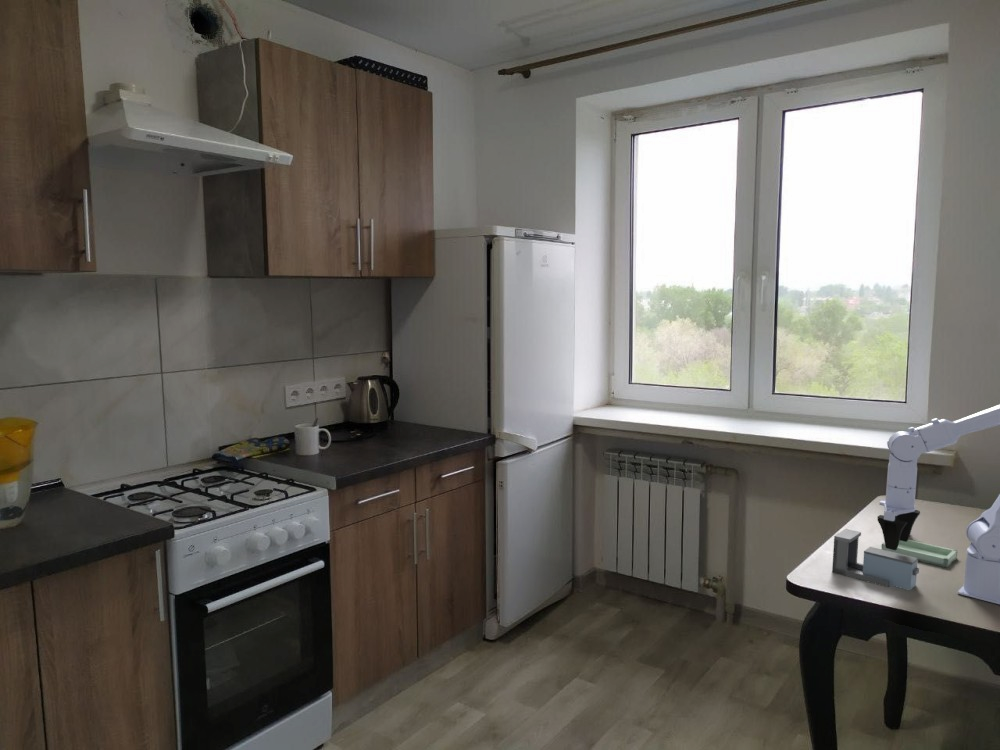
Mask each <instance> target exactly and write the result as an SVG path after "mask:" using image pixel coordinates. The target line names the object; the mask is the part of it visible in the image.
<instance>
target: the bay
mask: <svg viewBox="0 0 1000 750" xmlns="http://www.w3.org/2000/svg"><path fill="white" fill-rule="evenodd" d="M861 536H862V531H857V530H853V529H848V528H845V529H843V530H841V531H840V532H838V533H836V534H835V535H834V537H833V551H832V552H833V553H832V554H833V555H832V571H831V572H832V573H834V574H838V575H843V576H846V577H849V578H853V579H856V580H860V581H864V582H867V581H868V582H869V583H871V584H875V583H876V584H875V585H878V584H880V585H879V586H882V585H883V587H886V586H887V587H886V588H888V587H889V586H890V585H889V581H888V580H884V579H880V578H877V577H873V576H869V575H865V574H863V572H862V573H860V572H858V571H857V572H856V571H853V570H849V569H848V567H849V568H853V569H857V570H860V571H861V570H862V571H863V563H860V562H858V552H859V538H860V537H861Z"/></svg>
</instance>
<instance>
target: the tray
mask: <svg viewBox="0 0 1000 750" xmlns="http://www.w3.org/2000/svg"><path fill="white" fill-rule="evenodd" d="M881 549H882V550H886V551H890V552H895V553H899V554H903V555H907V556H911V557H916V558H918V562H921V563H926V564H930V565H935V566H938V567H943V568H946V569H947V568H949V567H950V566H951V565H952V564H953V563H954V561H956V560H957V559H958V557H957V556H958V550H957V549H952V548H948V547H943V546H939V545H935V544H930V543H926V542H922V541H916V540H912V539H908V541H907V542H905V541H899V545H898V548H897V550H892V549H887V548H886V546H885V542H883V543H882V544H881Z"/></svg>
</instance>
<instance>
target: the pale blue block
mask: <svg viewBox="0 0 1000 750" xmlns="http://www.w3.org/2000/svg"><path fill="white" fill-rule="evenodd" d="M862 562H863V563H862V564H863V570H862V574H865V575H869V576H873V577H877V578H880V579H884V580H888V581H889V584H890V585H889V586H891V585H893V586H892V587H895V586H897V587H896V588H898V587H901V588H900V589H902V588H905V589H904V590H906V589H908V590H907V591H910V590H911V589H912V588H913V587H914V586H915V585H917V578H918V577H917V575H918V574H919V572H920V567H918V562H919V561H918V558H916V557H911V556H907V555H903V554H899V553H895V552H890V551H886V550H882V548H878V547H873V546H869V547H868V548H866V549H865V550H864V551H863V561H862ZM915 587H916V586H915ZM915 587H914V588H915ZM914 588H913V589H914ZM913 589H912V590H913ZM912 590H911V591H912Z"/></svg>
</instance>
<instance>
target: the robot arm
mask: <svg viewBox="0 0 1000 750" xmlns="http://www.w3.org/2000/svg"><path fill="white" fill-rule="evenodd" d="M930 421H931V422H929V423H926V424H924V425H920V426H918V427H914V426H911V427H908V429H907V430H908V431H905V430H899V431H896V432H894V433H893V434H892V435H891V436H890V437H889V438H888V441H887V442H886V444H887V448H888V450H889V451H890V452H889V457H888V465H887V473H886V474H887V477H886V489H885V490H886V491H885V500H880V501H879V506H883V507H884V512H883V514H879V515H878V516H877V519H876V520H877V522H878V524H879V525H880V529H881V531H882V535H883V541H884V542H885V546H886V548H887V549H892V550H897V548H898V545H899V541H905V542H907V541H908V540H910V536H911V532H912V529H913V527H914V524H915V522H916V521H917V519H918V517H919V516H920V515H921V511H920V510H917V509H916V505H915V503H916V495H917V494H916V492H917V480H918V479H917V478H918V459H919V458H920V456H921V455H922V454H927V453H930V452H933V451H936V450H940V449H943V448H945V447H946V448H947V447H949V446H952V445H955V444H956V443H958V440H959V439H960V437H961V436H964V435H965V436H966V435H968V434H971V433H974V432H975V433H976V432H979V431H982V430H987V429H990V428H994V427H996V426H1000V404H997V405H994V406H992V407H989V408H986V409H983V410H981V411H978V412H976V413H973V414H970V415H968V416H964V417H962V418H960V419H957V420H953V421H951V420H948V419H946V418H942V419H939V418H937V417H935V418H932V419H931V420H930ZM965 534H966V538H967V539H968V541H969V542H970V544H969V546H968V547H967V548H966V555H965V556H966V557H965V569H964V581H963V585H962V586H961V588H959V589H958V590H957V594H959V595H961V596H966V597H969V598H973V599H977V600H981V601H985V602H989V603H992V604H995V605H996V604H997V605H1000V493H999V494H998V496H997V498H996V499H995V501H994V502H993V504H992V505H991V506H990V508H987V509H986V510H984V511H983V512H982V513H981V514H980V516H979V517H978V518H977V519H975V520H973V521H971V522H970V523H969V524H968V525H967V527H966V529H965ZM884 542H883V543H884Z"/></svg>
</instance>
